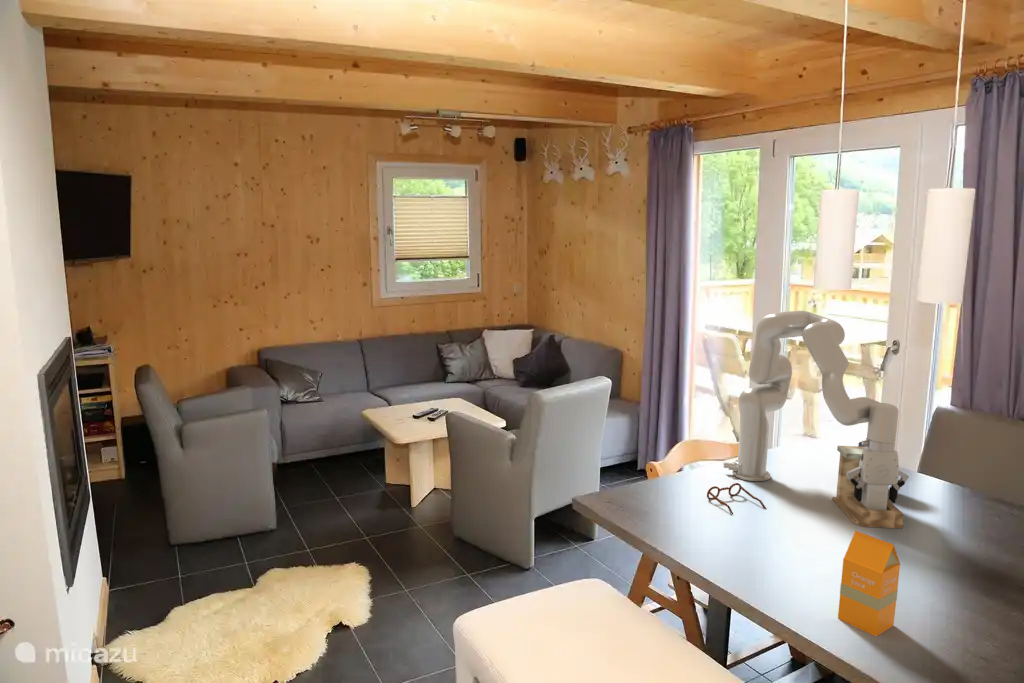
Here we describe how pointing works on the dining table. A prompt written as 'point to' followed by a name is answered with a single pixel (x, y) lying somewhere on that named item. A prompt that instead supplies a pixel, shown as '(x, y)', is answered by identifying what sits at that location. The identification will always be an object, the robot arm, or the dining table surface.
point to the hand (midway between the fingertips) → (874, 500)
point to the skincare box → (874, 496)
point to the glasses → (730, 494)
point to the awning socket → (850, 504)
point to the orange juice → (869, 584)
